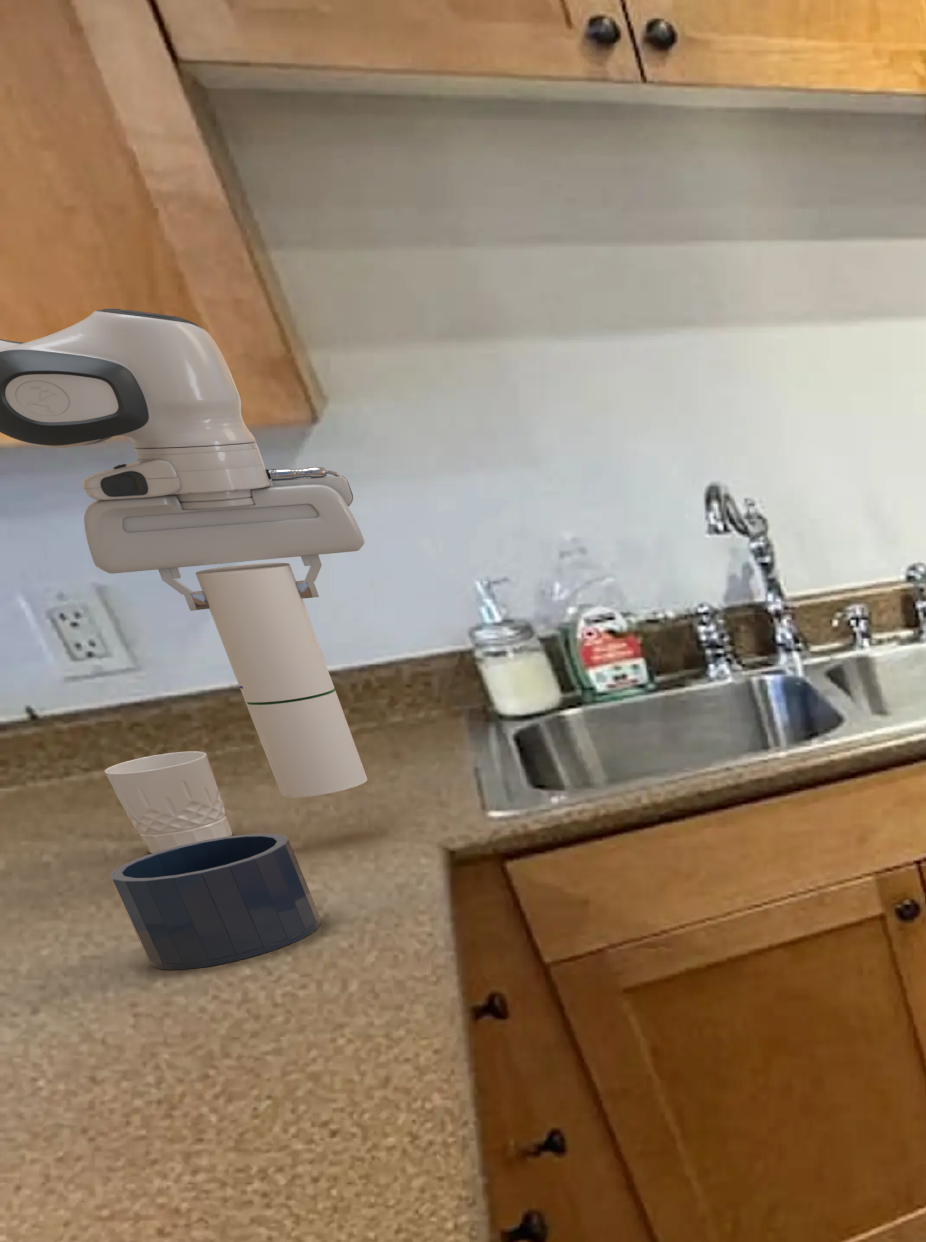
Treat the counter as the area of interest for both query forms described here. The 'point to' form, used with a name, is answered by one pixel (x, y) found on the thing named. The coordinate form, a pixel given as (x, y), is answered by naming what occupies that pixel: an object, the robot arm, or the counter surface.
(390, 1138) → the counter surface
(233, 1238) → the counter surface
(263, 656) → the cylindrical container
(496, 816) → the counter surface
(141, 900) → the crock
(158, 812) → the white cup
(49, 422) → the robot arm
